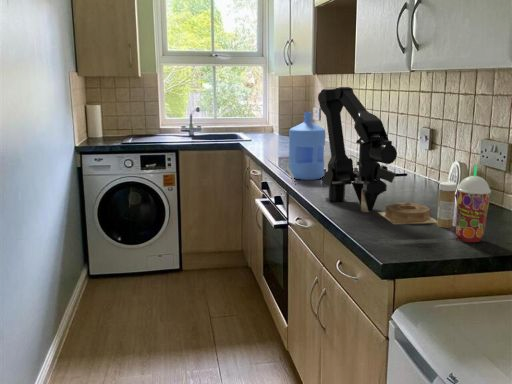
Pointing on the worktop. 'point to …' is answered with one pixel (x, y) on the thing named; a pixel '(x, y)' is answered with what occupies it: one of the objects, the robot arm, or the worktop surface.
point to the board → (405, 222)
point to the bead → (407, 212)
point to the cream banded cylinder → (363, 203)
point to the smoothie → (472, 208)
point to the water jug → (306, 150)
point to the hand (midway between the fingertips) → (365, 207)
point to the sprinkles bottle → (446, 204)
